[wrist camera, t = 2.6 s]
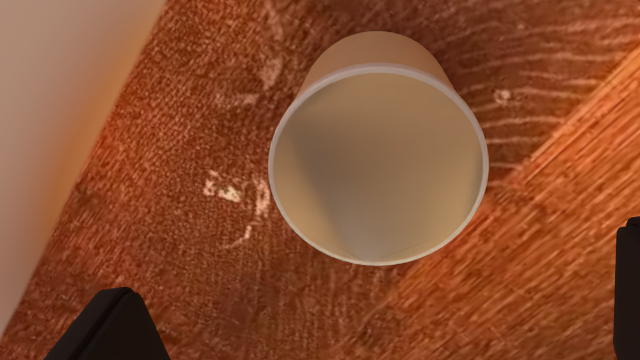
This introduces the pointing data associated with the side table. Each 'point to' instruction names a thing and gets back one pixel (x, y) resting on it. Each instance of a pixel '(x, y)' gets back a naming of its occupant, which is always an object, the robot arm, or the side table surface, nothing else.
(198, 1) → the side table surface
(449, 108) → the paper cup
